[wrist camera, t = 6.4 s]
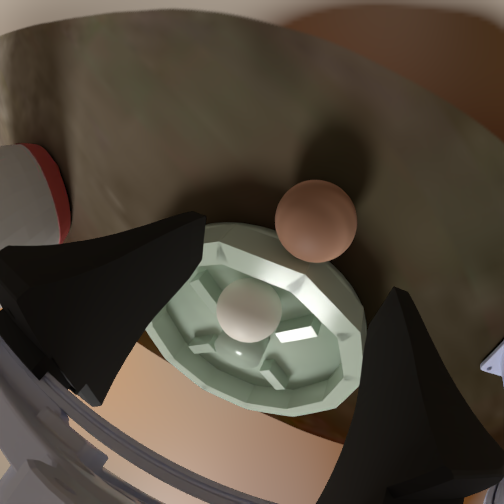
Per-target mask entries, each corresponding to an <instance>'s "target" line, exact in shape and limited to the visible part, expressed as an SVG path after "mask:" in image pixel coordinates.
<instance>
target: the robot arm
mask: <svg viewBox="0 0 504 504" xmlns="http://www.w3.org/2000/svg"><path fill="white" fill-rule="evenodd" d="M205 225H206V216H205V215H202V214H199V213H196V212H193V211H191V212H186V213H183V214H179V215H176V216H172V217H169V218H166V219H163V220H160V221H157V222H154V223H151V224H147V225H144V226H141V227H138V228H134V229H131V230H127V231H124V232H121V233H117V234H113V235H109V236H105V237H100V238H95V239H90V240H84V241H77V242H71V243H64V244H54V245H39V246H12V245H8V246H6V247H4V248H3V249H1V250H0V304H1V306H2V308H3V309H2V310H0V449H1V451H2V452H3V454H4V455H5V457H6V458H7V460H8V461H9V463H10V464H11V466H10V467H9V469H8V470H7V472H6V473H5V474H4V475H3V477H2V478H1V480H0V504H165V503H163V502H161V501H159V500H157V499H155V498H153V497H151V496H149V495H148V494H146V493H144V492H142V491H140V490H139V489H137V488H135V487H133V486H132V485H130V484H129V483H127V482H125V481H124V480H122V479H121V478H119V477H117V476H116V475H114V474H113V473H111V472H110V471H108V470H107V469H105V468H104V467H103V465H104V464H105V462H106V461H107V460H108V457H107V455H105V454H104V453H103V452H101V451H100V450H99V449H97V448H96V447H94V446H93V445H92V444H91V443H90V442H88V441H87V440H86V439H84V438H83V437H82V436H81V435H79V434H78V433H77V432H76V431H75V430H74V429H72V428H71V427H70V426H69V422H68V421H69V418H68V416H69V417H70V418H71V419H73V420H74V421H75V422H76V423H77V424H79V425H80V426H81V427H82V428H84V429H85V430H86V431H87V432H88V433H90V434H91V435H92V436H94V437H95V438H96V439H98V440H99V441H100V442H102V443H103V444H104V445H106V446H107V447H108V448H110V449H111V450H113V451H114V452H116V453H117V454H119V455H120V456H122V457H123V458H125V459H126V460H128V461H129V462H131V463H133V464H134V465H136V466H137V467H139V468H140V469H142V470H144V471H146V472H148V473H149V474H151V475H152V476H154V477H156V478H158V479H160V480H161V481H163V482H165V483H167V484H169V485H171V486H173V487H175V488H177V489H179V490H181V491H183V492H185V493H187V494H189V495H192V496H194V497H196V498H198V499H200V500H203V501H205V502H208V503H210V504H277V503H274V502H270V501H267V500H263V499H260V498H257V497H254V496H251V495H248V494H245V493H243V492H240V491H237V490H234V489H232V488H229V487H226V486H224V485H221V484H219V483H217V482H214V481H212V480H209V479H207V478H205V477H203V476H201V475H198V474H196V473H194V472H192V471H190V470H188V469H186V468H184V467H182V466H180V465H178V464H176V463H174V462H172V461H170V460H168V459H166V458H164V457H163V456H161V455H159V454H157V453H156V452H154V451H152V450H150V449H149V448H147V447H146V446H144V445H142V444H140V443H139V442H137V441H136V440H134V439H133V438H131V437H130V436H128V435H126V434H125V433H123V432H122V431H120V430H119V429H118V428H116V427H115V426H113V425H112V424H110V423H109V422H107V421H106V420H105V419H103V418H102V417H101V416H99V415H98V414H97V413H95V412H94V411H93V410H92V409H90V408H89V407H88V406H86V405H85V404H84V403H83V402H82V401H80V400H79V399H78V398H77V397H75V396H74V395H73V394H72V393H71V392H70V391H68V389H70V390H71V391H72V392H73V393H74V394H76V395H78V396H80V397H81V398H82V399H83V400H85V401H86V402H87V403H88V404H90V405H91V406H93V407H95V406H101V405H102V403H103V401H104V399H105V397H106V395H107V393H108V391H109V389H110V387H111V385H112V383H113V381H114V379H115V377H116V375H117V374H118V372H119V370H120V368H121V366H122V365H123V363H124V361H125V360H126V358H127V356H128V355H129V353H130V352H131V350H132V349H133V347H134V345H135V343H136V342H137V341H138V339H139V338H140V336H141V335H142V334H143V332H144V331H145V329H146V328H147V326H148V325H149V324H150V322H151V321H152V320H153V319H154V317H155V316H156V315H157V314H158V313H159V312H160V311H161V310H162V308H163V307H164V306H165V305H166V304H167V303H168V302H169V301H170V300H171V298H172V297H173V296H174V295H175V294H176V293H177V292H178V291H179V290H180V288H181V287H182V286H183V285H184V284H185V283H186V282H187V281H188V279H189V278H190V277H191V275H192V274H193V272H194V271H195V270H196V268H197V267H198V265H199V264H200V262H201V261H202V257H203V246H204V235H205ZM480 367H481V370H482V371H486V372H489V373H492V374H496V375H499V376H502V379H503V385H504V340H503V341H502V343H501V344H500V345H499V346H498V347H497V348H496V349H495V350H494V351H493V352H492V353H491V354H490V355H489V356H488V357H487V358H486V359H485V360H484V361H483V362H482V363H481V365H480ZM67 415H68V416H67ZM487 488H489V489H488V491H487V494H486V496H485V499H484V503H483V504H504V451H503V449H502V448H501V447H500V446H499V445H498V444H497V442H496V441H495V440H494V439H493V438H492V437H491V436H490V434H489V433H488V432H487V431H486V429H485V428H484V427H483V425H482V424H481V423H480V421H479V420H478V419H477V417H476V416H475V414H474V413H473V412H472V410H471V409H470V407H469V406H468V404H467V403H466V401H465V399H464V398H463V396H462V395H461V393H460V392H459V390H458V388H457V387H456V385H455V383H454V381H453V380H452V378H451V376H450V374H449V373H448V371H447V369H446V367H445V365H444V364H443V362H442V360H441V358H440V356H439V354H438V352H437V350H436V348H435V346H434V344H433V342H432V339H431V337H430V335H429V333H428V331H427V329H426V327H425V325H424V323H423V320H422V318H421V316H420V314H419V312H418V310H417V308H416V306H415V304H414V302H413V300H412V298H411V296H410V295H409V293H408V292H406V291H404V290H401V289H399V288H396V287H393V288H392V290H391V292H390V293H389V295H388V296H387V298H386V300H385V301H384V303H383V304H382V306H381V307H380V309H379V310H378V312H377V313H376V315H375V316H374V318H373V319H372V321H371V322H370V324H369V327H368V332H367V336H366V340H365V345H364V351H363V359H362V368H361V376H360V384H359V391H358V397H357V403H356V408H355V412H354V415H353V419H352V422H351V425H350V429H349V432H348V435H347V437H346V440H345V443H344V446H343V448H342V451H341V454H340V456H339V459H338V461H337V463H336V465H335V468H334V470H333V472H332V474H331V476H330V479H329V480H328V482H327V484H326V486H325V488H324V490H323V492H322V494H321V496H320V497H319V499H318V501H317V503H316V504H463V502H464V497H467V496H470V495H473V494H475V493H478V492H481V491H483V490H485V489H487Z"/></svg>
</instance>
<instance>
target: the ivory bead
mask: <svg viewBox="0 0 504 504" xmlns="http://www.w3.org/2000/svg"><path fill="white" fill-rule="evenodd" d="M216 314H217V319H218V322H219V324H220V326H221V328H222V329H223V330H224V332H225V333H226V334H227V335H229V336H230V337H231V338H233V339H235V340H237V341H240V342H246V343H252V342H258V341H261V340H263V339H265V338H267V337H268V336H270V335H271V334H272V333H273V332H274V331H275V329H276V328H277V326H278V325H279V323H280V320H281V316H282V304H281V301H280V298H279V296H278V294H277V292H276V291H275V289H274V288H273V287H272V286H270V285H269V284H268V283H266V282H265V281H262V280H260V279H256V278H242V279H238V280H236V281H234V282H232V283H230V284H229V285H228V286H227V287H226V288H225V289H224V290H223V291H222V293H221V294H220V296H219V298H218V301H217V307H216Z"/></svg>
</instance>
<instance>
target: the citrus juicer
mask: <svg viewBox="0 0 504 504" xmlns="http://www.w3.org/2000/svg"><path fill="white" fill-rule="evenodd" d="M70 219H71V215H70V206H69V201H68V196H67V193H66V189H65V186H64V183H63V180H62V177H61V175H60V170H59V167H58V165H57V163H56V162H54V161H53V159H52V157H51V156H50V155H49V153H48V152H47V151H46V150H45V149H44V148H43V147H41V146H39V145H37V144H29V143H16V144H15V145H5V146H0V250H1V249H3V248H4V247H6V246H8V245H12V246H39V245H54V244H62V243H63V241H64V239H65V238H66V236H67V234H68V232H69V229H70V223H71V221H70ZM0 308H2V306H1V304H0Z"/></svg>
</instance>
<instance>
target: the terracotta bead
mask: <svg viewBox="0 0 504 504" xmlns="http://www.w3.org/2000/svg"><path fill="white" fill-rule="evenodd" d="M275 227H276V232H277V235H278V237H279V240H280V242H281V243H282V245H283V246H284V247H285V249H286V250H287V251H288V252H290V253H291V254H292V255H293V256H295V257H297V258H298V259H301V260H303V261H307V262H313V263H321V262H326V261H330V260H332V259H335V258H336V257H338V256H340V255H341V254H342V253H343V252H345V251H346V250H347V248H348V247H349V246H350V244H351V243H352V241H353V239H354V236H355V234H356V229H357V214H356V210H355V207H354V205H353V202H352V201H351V199H350V197H349V196H348V195H347V194H346V193H345V192H344V191H343V190H342V189H341V188H340V187H338V186H336V185H335V184H333V183H330V182H327V181H324V180H308V181H304V182H301V183H299V184H296V185H295V186H293V187H292V188H290V189H289V190H288V191H287V192H286V193H285V194H284V196H283V197H282V198H281V200H280V202H279V204H278V206H277V210H276V214H275Z"/></svg>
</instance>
